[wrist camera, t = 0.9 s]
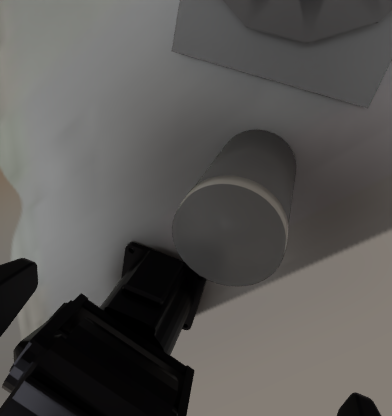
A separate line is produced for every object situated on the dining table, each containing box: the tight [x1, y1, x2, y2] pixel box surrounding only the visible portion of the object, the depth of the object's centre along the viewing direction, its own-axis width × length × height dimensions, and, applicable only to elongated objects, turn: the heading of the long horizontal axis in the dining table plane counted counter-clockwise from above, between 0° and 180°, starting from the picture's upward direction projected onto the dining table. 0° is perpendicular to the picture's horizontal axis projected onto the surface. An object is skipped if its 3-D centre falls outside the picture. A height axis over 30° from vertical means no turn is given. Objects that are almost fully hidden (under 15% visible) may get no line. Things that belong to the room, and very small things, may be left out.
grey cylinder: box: [172, 130, 296, 286], centre depth 16 cm, size 5×5×8 cm
